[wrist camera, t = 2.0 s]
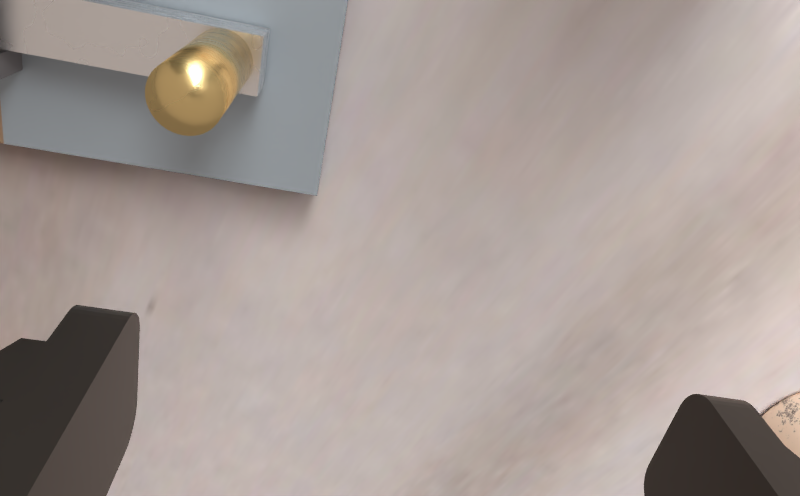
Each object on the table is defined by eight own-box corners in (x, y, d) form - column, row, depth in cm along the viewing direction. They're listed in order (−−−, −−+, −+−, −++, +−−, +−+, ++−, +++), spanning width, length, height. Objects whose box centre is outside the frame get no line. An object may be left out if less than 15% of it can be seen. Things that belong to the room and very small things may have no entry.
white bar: (269, 28, 26) (237, 69, 19) (263, 85, 28) (230, 143, 20) (15, -23, 25) (-122, 0, 18) (19, 38, 26) (-108, 84, 19)
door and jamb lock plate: (361, -83, 27) (361, -82, 22) (319, 180, 32) (311, 229, 27) (-224, -218, 24) (-384, -254, 18) (-162, 98, 29) (-273, 137, 24)
